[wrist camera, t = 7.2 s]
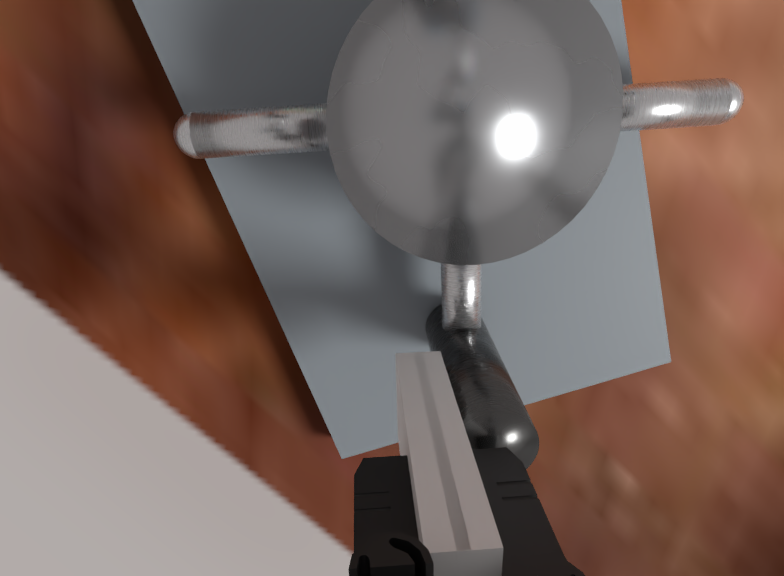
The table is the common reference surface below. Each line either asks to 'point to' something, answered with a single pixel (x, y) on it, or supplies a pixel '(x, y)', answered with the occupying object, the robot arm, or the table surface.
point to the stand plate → (388, 262)
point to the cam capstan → (469, 152)
